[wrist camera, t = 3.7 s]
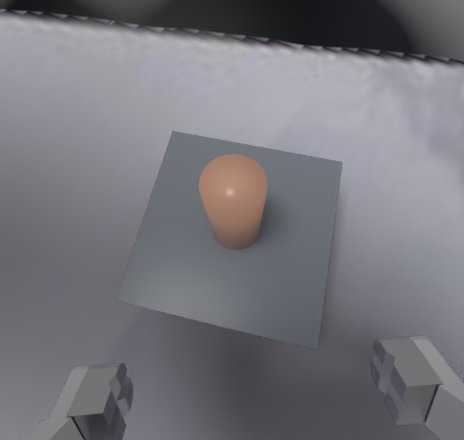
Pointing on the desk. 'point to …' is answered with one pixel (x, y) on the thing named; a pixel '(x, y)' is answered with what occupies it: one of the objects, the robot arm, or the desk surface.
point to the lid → (237, 239)
